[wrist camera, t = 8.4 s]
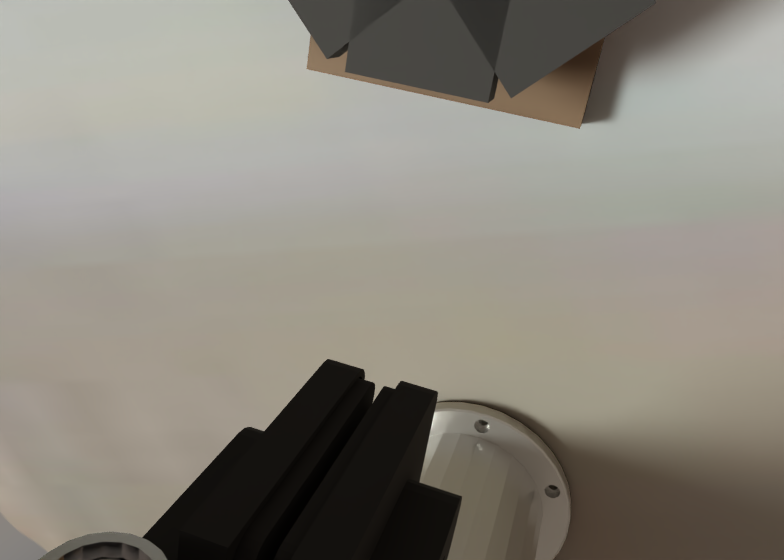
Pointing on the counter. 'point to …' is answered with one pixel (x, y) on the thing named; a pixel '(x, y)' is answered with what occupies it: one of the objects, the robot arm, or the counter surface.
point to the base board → (539, 101)
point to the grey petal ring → (461, 39)
